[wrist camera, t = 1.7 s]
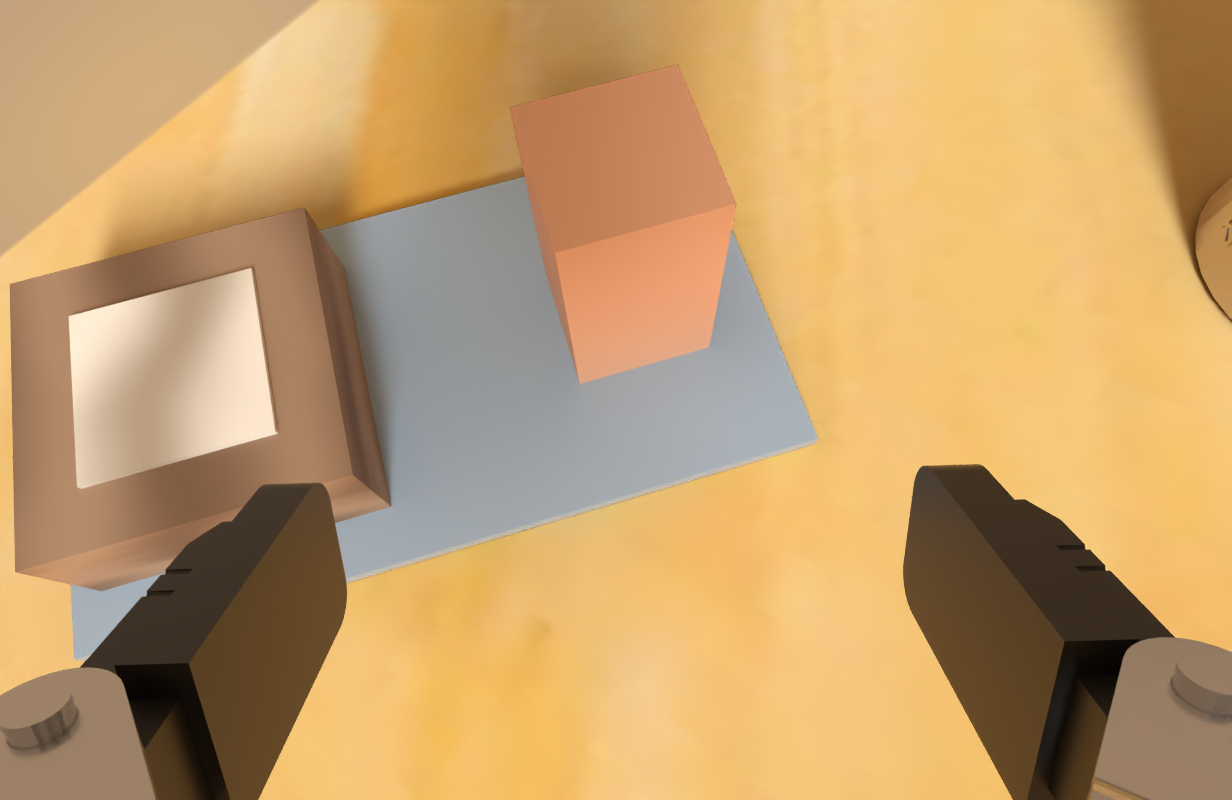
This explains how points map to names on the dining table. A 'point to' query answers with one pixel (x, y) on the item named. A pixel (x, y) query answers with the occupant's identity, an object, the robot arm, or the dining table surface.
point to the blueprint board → (516, 393)
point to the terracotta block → (627, 218)
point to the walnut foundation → (183, 397)
